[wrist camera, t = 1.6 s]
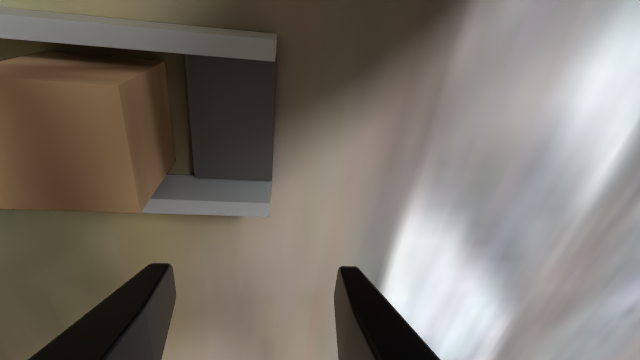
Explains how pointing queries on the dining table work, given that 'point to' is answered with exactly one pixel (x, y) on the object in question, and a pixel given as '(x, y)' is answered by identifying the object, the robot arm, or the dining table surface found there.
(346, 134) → the dining table surface
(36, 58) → the block
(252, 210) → the channel
